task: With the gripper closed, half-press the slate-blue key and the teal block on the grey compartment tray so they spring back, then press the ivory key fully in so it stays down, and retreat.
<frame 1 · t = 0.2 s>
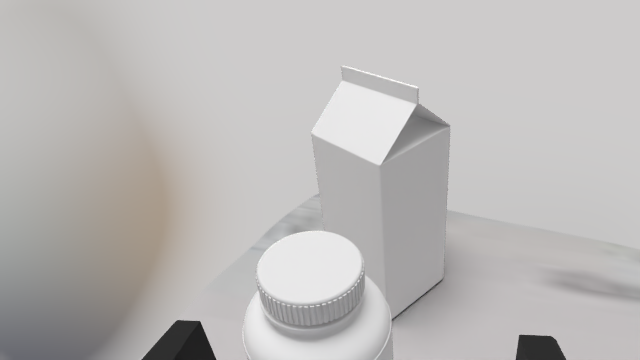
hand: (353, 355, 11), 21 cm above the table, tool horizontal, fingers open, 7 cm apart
milk carton: (386, 281, 42), on the table
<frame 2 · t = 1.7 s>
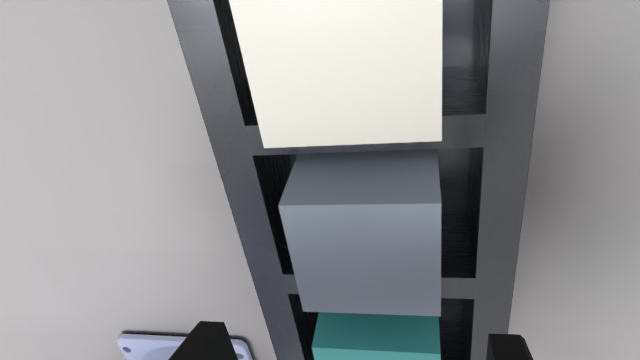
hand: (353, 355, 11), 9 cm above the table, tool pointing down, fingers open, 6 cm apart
ivory key: (347, 35, 11), point 4 cm above the table, slide at 0.0 cm
slate key: (368, 229, 14), point 4 cm above the table, slide at 0.0 cm
teal block: (381, 351, 18), point 4 cm above the table, slide at 0.0 cm
grey compartment tray: (377, 153, 18), on the table
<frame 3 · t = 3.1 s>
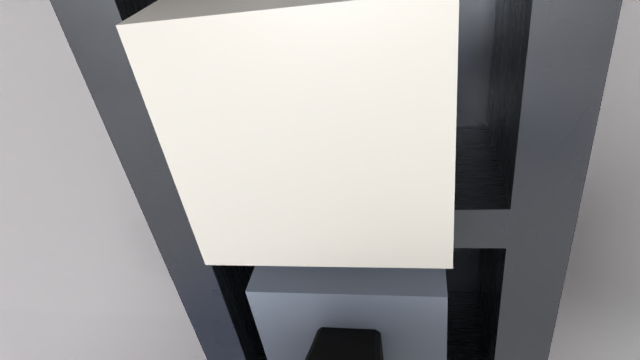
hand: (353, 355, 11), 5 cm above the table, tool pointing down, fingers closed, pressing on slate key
ivory key: (319, 112, 8), point 4 cm above the table, slide at 0.0 cm
slate key: (358, 306, 12), point 3 cm above the table, slide at 1.0 cm, touching gripper
grey compartment tray: (368, 219, 15), on the table
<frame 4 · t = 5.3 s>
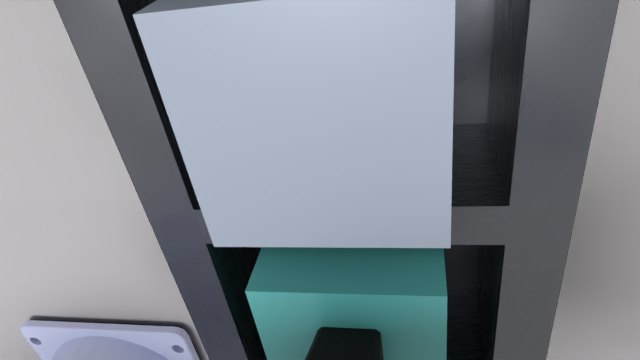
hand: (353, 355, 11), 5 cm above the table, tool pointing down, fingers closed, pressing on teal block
slate key: (323, 100, 8), point 4 cm above the table, slide at 0.4 cm
teal block: (358, 305, 12), point 4 cm above the table, slide at 0.9 cm, touching gripper
grey compartment tray: (348, 28, 12), on the table
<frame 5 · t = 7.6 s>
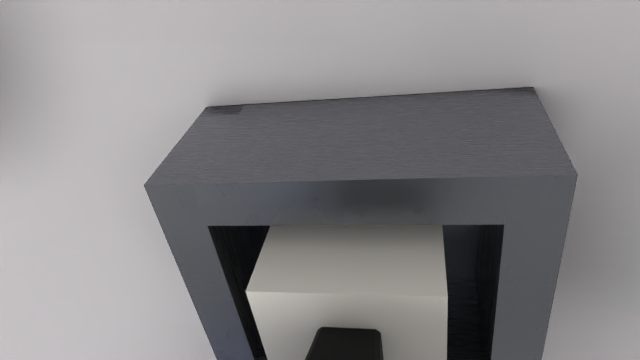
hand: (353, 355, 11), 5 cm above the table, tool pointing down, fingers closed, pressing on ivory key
ivory key: (358, 306, 12), point 4 cm above the table, slide at 0.6 cm, touching gripper
grey compartment tray: (381, 332, 18), on the table
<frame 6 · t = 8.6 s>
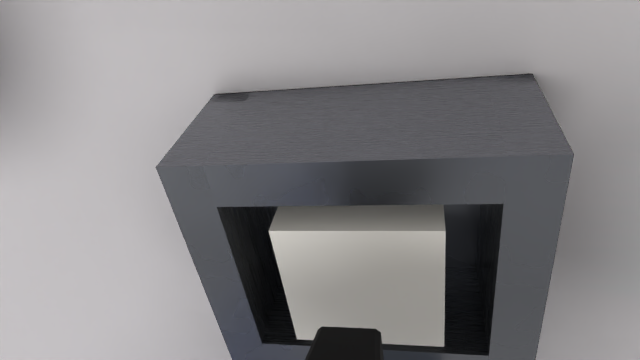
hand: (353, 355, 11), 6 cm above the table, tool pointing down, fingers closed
ivory key: (366, 252, 13), point 3 cm above the table, slide at 1.9 cm
grey compartment tray: (384, 317, 19), on the table
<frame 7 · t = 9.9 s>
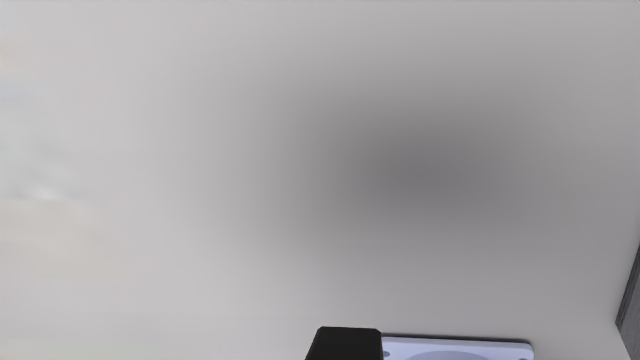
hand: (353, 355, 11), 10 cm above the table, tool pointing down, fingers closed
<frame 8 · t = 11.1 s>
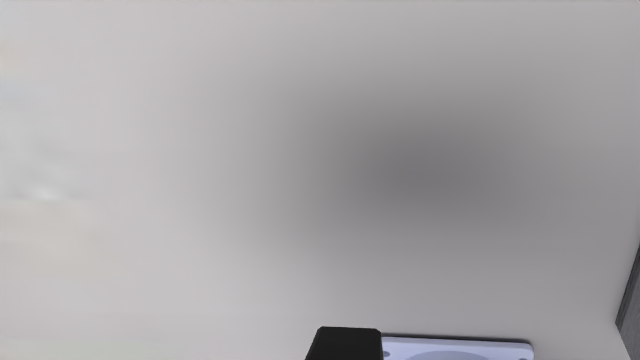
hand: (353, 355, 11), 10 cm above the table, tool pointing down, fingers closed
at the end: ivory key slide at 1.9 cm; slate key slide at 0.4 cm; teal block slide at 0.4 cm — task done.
